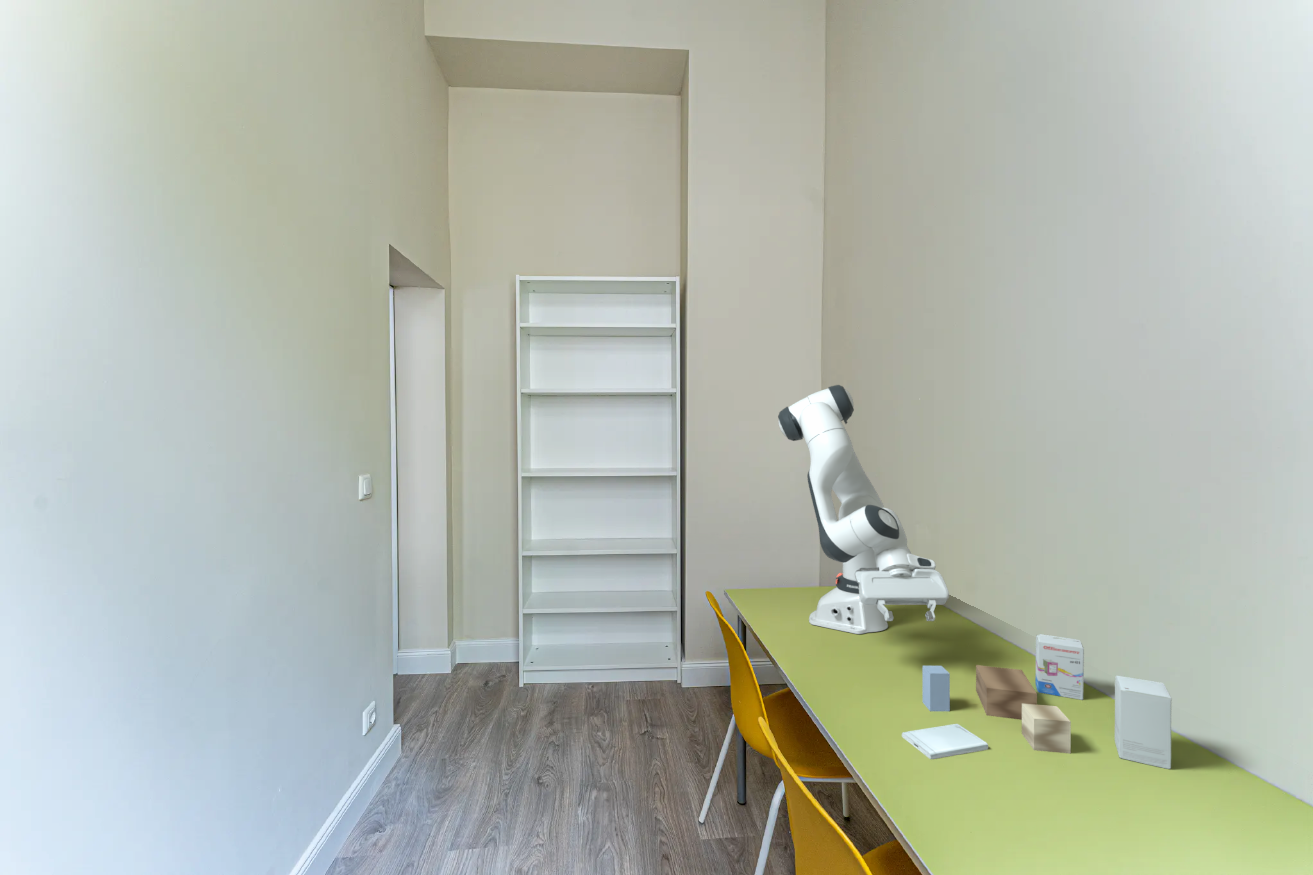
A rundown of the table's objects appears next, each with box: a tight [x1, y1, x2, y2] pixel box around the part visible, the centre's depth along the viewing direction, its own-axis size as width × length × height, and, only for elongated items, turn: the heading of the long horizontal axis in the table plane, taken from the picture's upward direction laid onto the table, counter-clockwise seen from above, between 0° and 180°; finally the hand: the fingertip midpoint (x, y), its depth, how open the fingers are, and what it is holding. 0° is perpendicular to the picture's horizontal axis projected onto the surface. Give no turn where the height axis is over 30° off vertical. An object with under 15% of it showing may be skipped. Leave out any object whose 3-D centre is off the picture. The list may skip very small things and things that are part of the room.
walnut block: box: [975, 664, 1038, 721], centre depth 129 cm, size 9×12×6 cm
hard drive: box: [901, 723, 989, 760], centre depth 114 cm, size 2×8×12 cm
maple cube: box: [1021, 704, 1072, 754], centre depth 114 cm, size 6×6×6 cm
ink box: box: [1035, 633, 1085, 701], centre depth 134 cm, size 9×5×12 cm, turn 62°
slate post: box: [922, 665, 951, 712], centre depth 129 cm, size 4×4×8 cm
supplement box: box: [1114, 675, 1173, 770], centre depth 109 cm, size 7×7×13 cm
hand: (910, 619), depth 141 cm, fingers open, 8 cm apart
